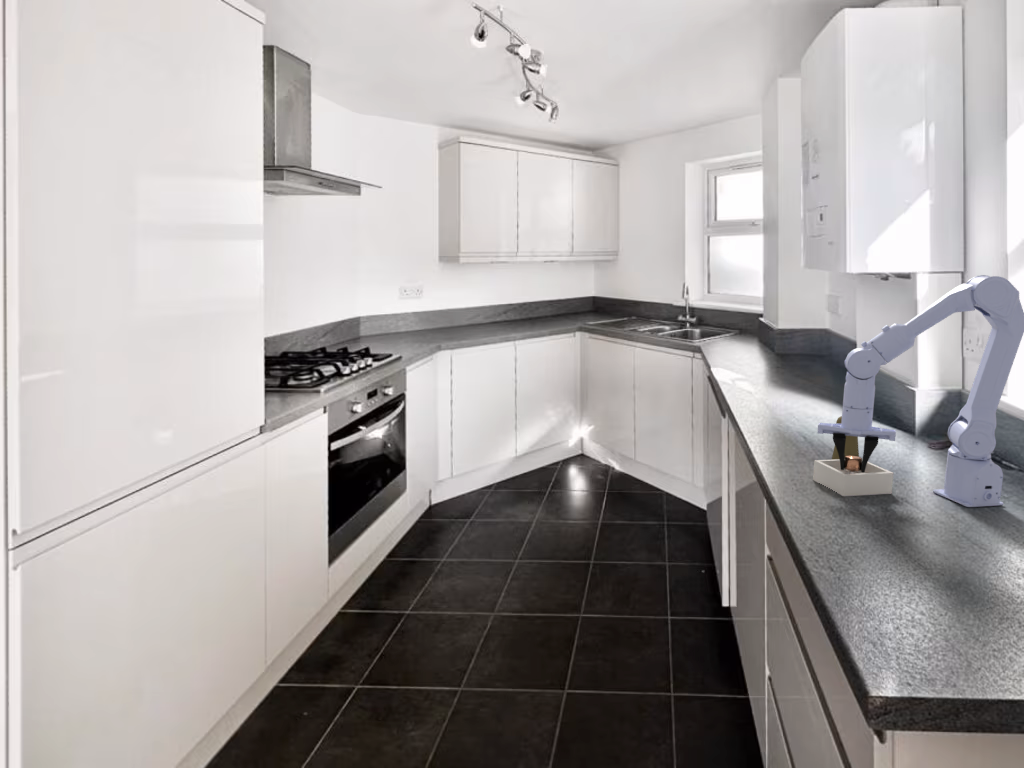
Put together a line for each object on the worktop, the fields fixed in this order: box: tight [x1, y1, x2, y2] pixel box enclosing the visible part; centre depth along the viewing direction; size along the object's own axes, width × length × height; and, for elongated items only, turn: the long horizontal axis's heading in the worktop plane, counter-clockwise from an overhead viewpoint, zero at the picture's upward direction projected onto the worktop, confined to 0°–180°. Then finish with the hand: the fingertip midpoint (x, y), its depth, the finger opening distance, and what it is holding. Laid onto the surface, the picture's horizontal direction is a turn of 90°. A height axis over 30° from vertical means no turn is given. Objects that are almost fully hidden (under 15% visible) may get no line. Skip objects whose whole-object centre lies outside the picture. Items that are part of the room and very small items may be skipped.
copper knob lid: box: [843, 456, 863, 474], centre depth 148 cm, size 9×9×5 cm
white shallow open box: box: [812, 459, 894, 497], centre depth 149 cm, size 13×11×4 cm
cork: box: [830, 415, 860, 460], centre depth 165 cm, size 6×6×11 cm
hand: (852, 469), depth 148 cm, fingers closed on copper knob lid, 3 cm apart
